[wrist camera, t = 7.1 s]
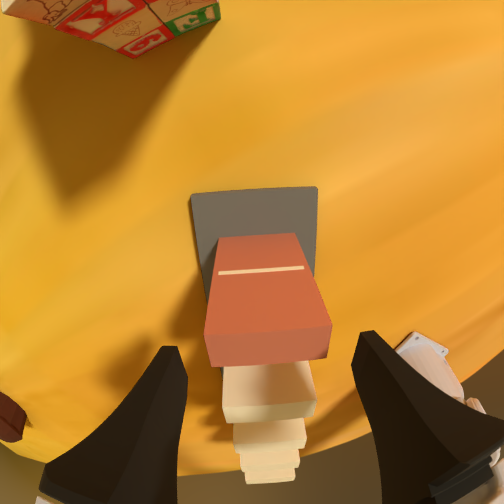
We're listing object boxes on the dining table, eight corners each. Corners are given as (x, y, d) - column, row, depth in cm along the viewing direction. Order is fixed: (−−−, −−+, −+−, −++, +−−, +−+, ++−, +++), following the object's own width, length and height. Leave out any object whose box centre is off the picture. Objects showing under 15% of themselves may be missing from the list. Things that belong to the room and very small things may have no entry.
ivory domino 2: (289, 362, 24) (304, 448, 16) (236, 366, 24) (236, 453, 16) (290, 348, 23) (306, 438, 15) (233, 352, 23) (233, 444, 15)
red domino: (294, 259, 19) (326, 358, 11) (222, 264, 19) (211, 367, 11) (294, 232, 18) (332, 324, 10) (218, 237, 18) (203, 334, 10)
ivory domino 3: (287, 394, 27) (298, 467, 19) (241, 397, 27) (242, 471, 19) (288, 383, 26) (300, 461, 18) (239, 387, 26) (240, 465, 18)
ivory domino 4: (285, 416, 29) (293, 480, 21) (244, 419, 29) (246, 484, 21) (286, 408, 28) (295, 476, 20) (243, 411, 28) (245, 479, 20)
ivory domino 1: (292, 320, 22) (312, 416, 14) (229, 324, 22) (226, 423, 14) (293, 299, 21) (317, 399, 13) (227, 304, 21) (222, 406, 13)
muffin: (27, 421, 39) (15, 451, 30) (-7, 394, 35) (-22, 423, 26) (33, 414, 35) (19, 449, 26) (-7, 381, 31) (-24, 415, 22)
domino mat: (296, 414, 30) (297, 418, 30) (233, 419, 30) (233, 423, 30) (315, 186, 17) (317, 188, 17) (192, 193, 17) (190, 196, 17)
